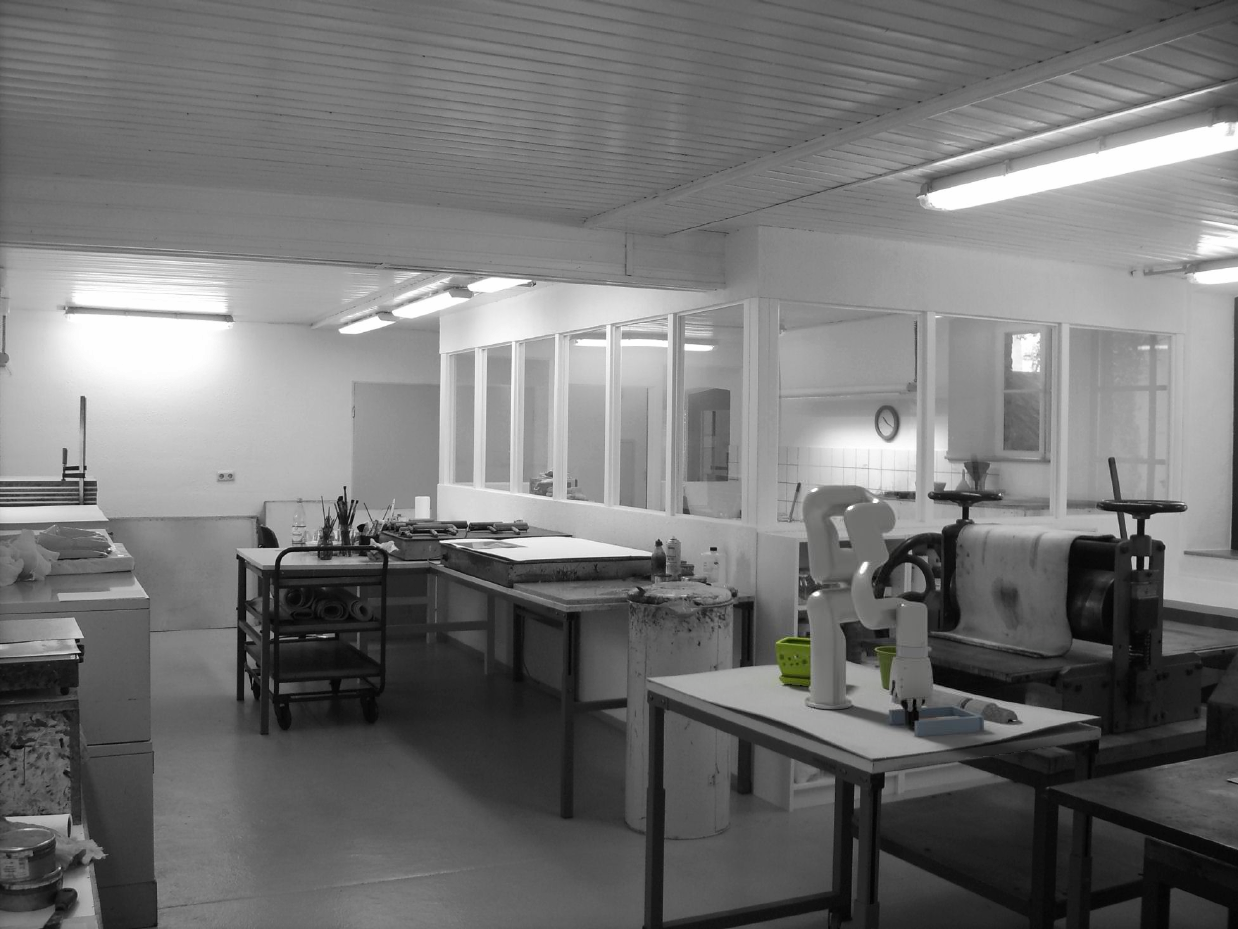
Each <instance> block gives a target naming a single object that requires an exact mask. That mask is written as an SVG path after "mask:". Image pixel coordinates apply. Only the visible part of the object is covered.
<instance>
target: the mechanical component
mask: <svg viewBox="0 0 1238 929" xmlns="http://www.w3.org/2000/svg"><path fill="white" fill-rule="evenodd" d="M911 700H912V699H911ZM949 705H954V706H957V707H959V708H962V709H964V710H967V711H970V712H972V713H975V714H978V715H980V716H983V717H984V721H986V722H991V723H996V724H999V723H1000V724H999V725H1004V724H1003V723H1005V724H1008V722H1009V720H1012V721H1011V722H1013V720H1018V721H1019V718H1018V715H1017V714H1016V712H1015V711H1014V710H1011V709H1008V708H1004V707H1001V706H999V705H997V704H996V703H995V702H992V701H987V700H982V699H976V698H973V697H967V696H964V695H961V694H957V693H953V692H947V691H942V690H939V689H938V690H937V689H934V688H933V694H932V701H930V702H927V703H924V705H923V706H922V707H935V706H949Z"/></svg>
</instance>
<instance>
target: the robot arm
mask: <svg viewBox="0 0 1238 929" xmlns="http://www.w3.org/2000/svg"><path fill="white" fill-rule="evenodd" d="M801 510H802V517H803V518H802V519H803V522H804V526H805V530H806V536H807V551H808V554H807V555H808V566H809V574H810V577H811V579H812V580H813V581H814V582H815V583H817V584H825V585H827V584H828V585H829V584H839V587H833V588H822V589H819V590H816V591H814V592H812V593H811V594H810V595H809V596H808V599H807V601H806V612H807V618H808V623H809V634H810V638H809V639H810V643H811V686H808V691H810V696H808V697H806V698H805V699H804V704H805V705H806V706H808V707H810V708H814V707H815V709H823V710H843V709H849V708H850V707H852V705H853V702H852V700H851V699H850V698H847V641H846V636H845V634H844V632H843V629H842V628H841V625H840V624H842V623H851V622H852V623H853V622H858V621H860V624H862V626H863V627H865V628H866V629H868V630H873V631H874V630H875V631H876V630H884V629H895V628H896V629H895V631H896V632H895V647H896V657H893V660H892V664H891V670H890V681H889V689H888V691H889V692H888V693H889V695H890V696H892V697H891V700H890V701H891V703H893V704H895V705H899V706H901V707H902V709H905V723H906V724H905V725H906V726H908V727H909V728H911V729H912V728H915V721H919V711H920V710H921V708H922V707H924V706H923V705H924V703H927V702H930V701H932V694H933V689H934V679H933V668H932V663H931V660H930V657H928V656H929V653H931V652H932V651H933V650H932V647H931V646H929V645H928V607H927V605H926V604H925V603H923V602H917V601H909V600H906V599H905V598H902V597H889V598H886V597H885V598H875V595H874V591H873V586H872V579H873V576H874V573H875V571H876V570H877V569H879V567H881V566H883V565H884V564H886V563H887V562H888V561H889V559H890V554H889V551H888V549H887V545H886V542H885V538H884V536H883V534H888V533H890V532H892V531H893V529H894V528H895V526H896V522H897V521H896V514H895V512H894V510H893V508H892V506H890V504H888V503H887V501H885V500H883V499H882V498H880V497H879V496H877V495H876V494H875V493H873V492H871V491H870V490H868V489H866V488H865V487H863V486H860V485H855V484H853V485H851V484H849V485H848V484H846V485H845V484H843V485H842V484H841V485H837V484H831V485H830V484H829V485H821V486H817V487H814V488H812V489H810V490H809V491H808V492H807V494H806V495H805V497H804V500H803V502H802V508H801ZM832 517H843V518H842V519H843V522H844V527H845V528H846V533H847V537H848V540H849V542H850V545H851V548H850V547H840V540H839V532H838V529H837V527H836V525H835V523H834V522H833V521H832V520H831V518H832ZM911 699H912V700H911Z"/></svg>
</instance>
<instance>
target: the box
mask: <svg viewBox="0 0 1238 929" xmlns="http://www.w3.org/2000/svg"><path fill="white" fill-rule="evenodd" d="M948 716H959V718H947V719H934V720H921V721H915V727H914V736H916V737H928V736H941V735H953V734H965V733H975V732H976V733H977V732H984V731H985V720H984V717H983V716H980V715H978V714H975V713H972V712H970V711H967V710H964V709H962V708H959V707H957V706H954V705H949V706H935V707H926V706H922V707H921V710H920V711H919V719H921V718H935V717H948ZM888 724H889V725H892V726H893V725H906V723H905V709H903V708H896V709H889V710H888Z"/></svg>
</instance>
